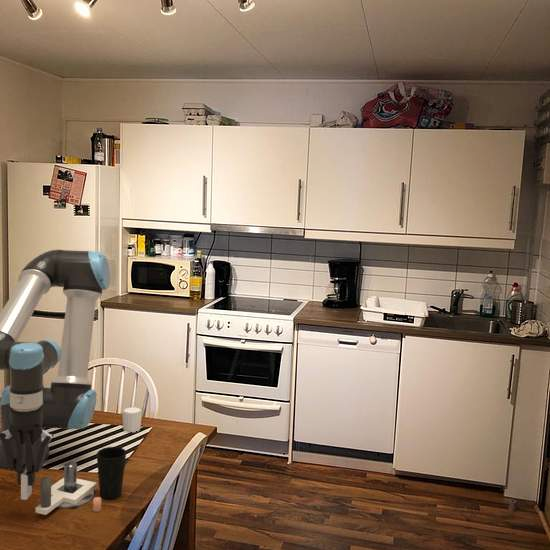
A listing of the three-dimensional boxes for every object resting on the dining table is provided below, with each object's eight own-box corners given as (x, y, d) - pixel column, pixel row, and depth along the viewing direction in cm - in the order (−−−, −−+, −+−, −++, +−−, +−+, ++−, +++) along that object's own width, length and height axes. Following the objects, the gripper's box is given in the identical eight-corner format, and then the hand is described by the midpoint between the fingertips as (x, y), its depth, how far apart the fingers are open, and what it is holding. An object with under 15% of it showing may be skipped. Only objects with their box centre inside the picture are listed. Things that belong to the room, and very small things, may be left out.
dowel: (91, 510, 154) (91, 499, 154) (95, 507, 156) (96, 496, 156) (98, 512, 154) (98, 501, 153) (102, 508, 156) (102, 497, 155)
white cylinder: (146, 428, 209) (146, 409, 208) (131, 434, 203) (132, 415, 202) (132, 423, 212) (132, 404, 211) (117, 429, 206) (117, 410, 205)
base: (36, 502, 157) (36, 469, 156) (65, 482, 168) (65, 451, 167) (75, 511, 154) (76, 478, 152) (102, 490, 165) (102, 459, 164)
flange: (65, 480, 167) (66, 452, 166) (97, 487, 164) (97, 458, 163) (23, 509, 151) (23, 478, 150) (57, 517, 148) (57, 486, 147)
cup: (109, 504, 158) (110, 461, 156) (89, 495, 162) (90, 453, 160) (131, 493, 164) (132, 451, 163) (111, 485, 168) (112, 444, 167)
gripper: (-8, 410, 144) (-7, 502, 147) (46, 413, 144) (45, 506, 147) (7, 399, 152) (7, 487, 155) (58, 403, 151) (57, 491, 154)
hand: (26, 496), depth 151 cm, fingers closed
